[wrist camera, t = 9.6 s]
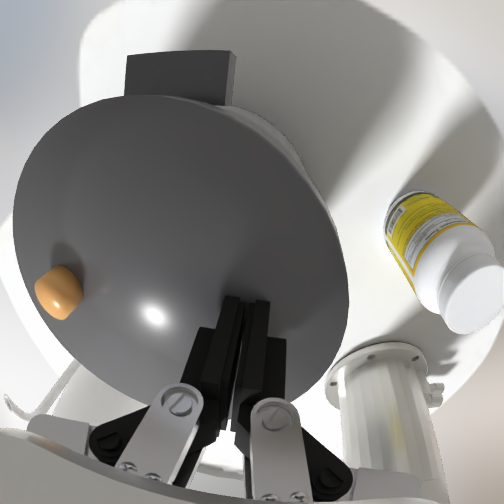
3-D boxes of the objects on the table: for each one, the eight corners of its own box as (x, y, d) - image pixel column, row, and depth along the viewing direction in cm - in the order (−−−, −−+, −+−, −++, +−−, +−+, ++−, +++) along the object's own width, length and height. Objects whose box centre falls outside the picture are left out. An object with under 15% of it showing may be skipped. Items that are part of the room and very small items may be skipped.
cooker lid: (388, 120, 8) (418, 126, 6) (299, 418, 16) (295, 457, 14) (19, 112, 10) (-24, 122, 8) (70, 354, 18) (49, 380, 15)
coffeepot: (140, 285, 28) (38, 446, 11) (179, 418, 40) (147, 524, 23) (61, 275, 29) (-41, 390, 12) (118, 404, 41) (77, 496, 24)
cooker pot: (330, 82, 18) (372, 60, 8) (288, 321, 28) (284, 420, 18) (121, 74, 19) (21, 72, 9) (131, 295, 29) (78, 372, 19)
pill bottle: (445, 249, 23) (507, 328, 13) (384, 263, 24) (428, 356, 14) (443, 182, 20) (527, 241, 10) (377, 195, 21) (437, 266, 12)
